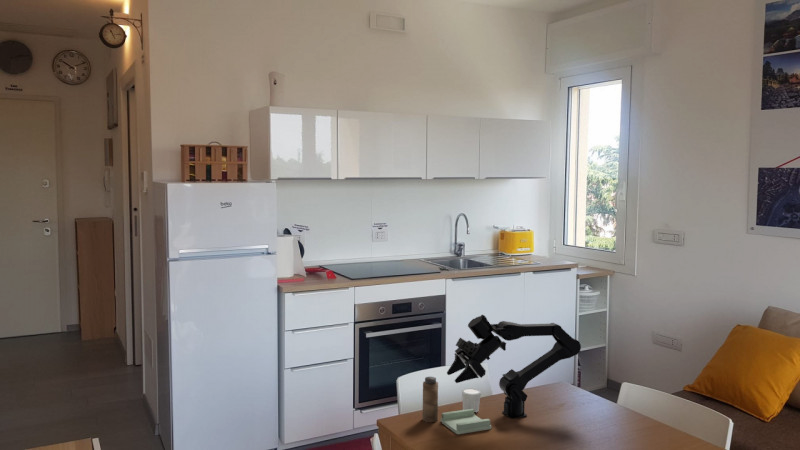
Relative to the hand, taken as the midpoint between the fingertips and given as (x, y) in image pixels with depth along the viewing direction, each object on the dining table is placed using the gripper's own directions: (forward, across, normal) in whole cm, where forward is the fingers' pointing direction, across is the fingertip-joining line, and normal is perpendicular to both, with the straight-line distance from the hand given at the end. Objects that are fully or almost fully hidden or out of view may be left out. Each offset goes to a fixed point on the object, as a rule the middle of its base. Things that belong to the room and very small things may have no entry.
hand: (451, 377), depth 212 cm
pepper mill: (+15, -1, +7) cm, 16 cm away
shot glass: (+2, -7, +18) cm, 19 cm away
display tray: (+6, +6, +14) cm, 16 cm away
